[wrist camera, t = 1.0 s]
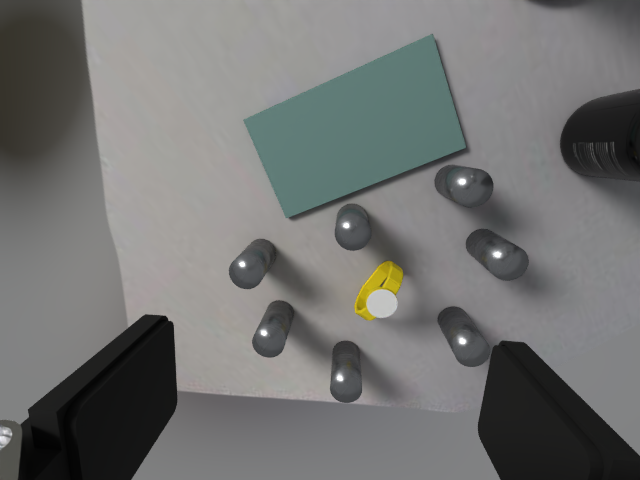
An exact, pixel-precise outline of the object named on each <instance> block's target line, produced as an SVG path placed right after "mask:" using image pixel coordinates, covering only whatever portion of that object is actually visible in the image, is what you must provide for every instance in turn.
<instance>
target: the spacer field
mask: <svg viewBox="0 0 640 480" xmlns="http://www.w3.org/2000/svg"><path fill="white" fill-rule="evenodd" d="M435 187H436V190H437V191H438V192H439V193H440V194H441V195H443V196H445V197H447V198H449V199H451V200H453V201H455V202H457V203H459V204H461V205H463V206H465V207H477V206H480V205H482V204H484V203H485V202H486V201H487V200H488V199H489V198H490V196H491V194H492V192H493V181H492V178H491V177H490V175H489V174H488V173H487V172H485V171H483V170H481V169H475V168H469V167H464V166H458V165H448V166H445V167H443V168H442V169H440V170H439V172H438V173H437V175H436V177H435ZM335 237H336V240H337V242H338V244H339V245H340V246H341V247H343V248H345V249H347V250H352V251H354V250H359V249H362V248H363V247H365V246H366V245H367V244H368V242H369V240H370V238H371V228H370V225H369V221H368V218H367V215H366V212H365V210H364V209H363V208H362V207H361V206H359V205H357V204H347V205H345V206H343V207H342V208H341V209H340V210H339V212H338V214H337V220H336V228H335ZM466 249H467V251H468V253H469V254H470V255H471V256H473V257H474V258H475V259H476V260H477V261H478V262H479V263H481V264H482V265H483V266H484V267H485V268H486V269H487V270H489V271H490V272H491V273H492V274H493V275H494V276H496V277H497V278H499V279H501V280H505V281H509V280H514V279H517V278H519V277H520V276H521V275H523V273H524V272H525V271H526V269H527V267H528V263H529V260H528V256H527V254H526V252H525V251H524V250H523V249H521V248H519V247H518V246H516V245H514V244H513V243H511V242H509V241H507V240H506V239H504V238H502V237H501V236H499V235H497V234H495V233H494V232H492V231H490V230H488V229H479V230H476V231H474V232H472V233H471V234H470V235H469V237H468V238H467V241H466ZM275 257H276V250H275V247H274V245H273V244H272V243H271V242H269V241H268V240H265V239H257V240H254V241H253V242H252V243H251V244H250V245H249V246H248V247H247V248H246V249H245V250H244V251H243V252H242V253H241V254H240V255H239V256H238V257H237V258H236V259H235V260H234V261H233V262H232V263H231V265H230V268H229V275H230V278H231V280H232V282H233V283H234V284H235V285H236V286H238V287H240V288H243V289H251V288H254V287H256V286H257V285H259V283H260V282H261V280H262V279H263V277H264V276H265V274H266V273H267V271H268V269H269V268H270V266H271V265H272V263H273V261H274V260H275ZM293 316H294V311H293V308H292V307H291V305H290V304H288V303H287V302H285V301H281V300H278V301H274V302H272V303H271V304H270V305H269V306H268V308H267V310H266V312H265V314H264V316H263V318H262V320H261V322H260V324H259V326H258V328H257V330H256V332H255V334H254V337H253V340H252V344H253V347H254V349H255V351H256V352H257V353H258V354H260V355H261V356H264V357H275V356H278V355H279V354H280V353H281V352H282V351H283V349H284V346H285V342H286V339H287V336H288V333H289V329H290V326H291V323H292V320H293ZM438 324H439V326H440V328H441V330H442V332H443V334H444V336H445V338H446V339H447V341H448V343H449V345H450V347H451V349H452V351H453V353H454V355H455V357H456V359H457V360H458V362H459V363H461V364H462V365H464V366H468V367H475V366H479V365H481V364H483V363H484V362H485V361H486V360H487V359H488V357H489V355H490V347H489V345H488V343H487V342H486V341H485V339H484V338H483V336H482V335H481V334H480V332H479V331H478V330H477V328H476V327H475V325H474V324H473V323H472V321H471V320H470V318H469V317H468V316H467V314H466V313H465V312H464V310H462V309H461V308H459V307H454V306H453V307H448V308H445V309H444V310H442V311H441V313H440V314H439V316H438ZM330 391H331V394H332V396H333V397H334V398H335V399H336V400H338V401H340V402H344V403H350V402H353V401H355V400H357V399H358V398H359V397H360V395H361V393H362V381H361V366H360V352H359V348H358V347H357V345H356V344H354V343H353V342H350V341H341V342H339V343H337V344H336V345H335V346H334V348H333V353H332V369H331V384H330Z"/></svg>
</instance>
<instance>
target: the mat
mask: <svg viewBox="0 0 640 480" xmlns="http://www.w3.org/2000/svg"><path fill="white" fill-rule="evenodd" d="M244 123H245V125H246V127H247V129H248V132H249V134H250V136H251V139H252V141H253V143H254V146H255V148H256V150H257V152H258V155H259V157H260V159H261V162H262V164H263V166H264V169H265V171H266V173H267V175H268V178H269V180H270V182H271V185H272V187H273V189H274V191H275V194H276V196H277V198H278V201H279V203H280V205H281V208H282V210H283V212H284V214H285V217H286V218H288V217H291V216H293V215H296V214H299V213H301V212H304V211H306V210H309V209H311V208H314V207H316V206H319V205H321V204H324V203H326V202H329V201H332V200H334V199H337V198H339V197H342V196H344V195H347V194H349V193H352V192H354V191H357V190H360V189H362V188H365V187H367V186H370V185H372V184H375V183H377V182H380V181H382V180H385V179H387V178H390V177H393V176H395V175H398V174H400V173H403V172H405V171H408V170H410V169H413V168H415V167H418V166H421V165H423V164H426V163H428V162H431V161H433V160H436V159H438V158H441V157H443V156H446V155H449V154H451V153H454V152H456V151H459V150H461V149H464V148H466V145H465V141H464V138H463V134H462V131H461V128H460V124H459V121H458V118H457V114H456V111H455V107H454V104H453V101H452V97H451V94H450V91H449V87H448V84H447V80H446V77H445V74H444V70H443V67H442V64H441V60H440V57H439V53H438V50H437V47H436V43H435V40H434V37H433V34H431V35H429V36H427V37H424V38H422V39H420V40H418V41H416V42H413V43H411V44H409V45H407V46H405V47H402V48H400V49H398V50H396V51H394V52H392V53H389V54H387V55H385V56H383V57H381V58H378V59H376V60H374V61H372V62H370V63H367V64H365V65H363V66H361V67H359V68H356V69H354V70H352V71H350V72H348V73H345V74H343V75H341V76H339V77H337V78H334V79H332V80H330V81H328V82H326V83H323V84H321V85H319V86H317V87H315V88H312V89H310V90H308V91H306V92H304V93H301V94H299V95H297V96H295V97H293V98H290V99H288V100H286V101H284V102H282V103H280V104H277V105H275V106H273V107H271V108H269V109H266V110H264V111H262V112H260V113H258V114H255V115H253V116H251V117H249V118H247V119H244Z"/></svg>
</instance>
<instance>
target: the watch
mask: <svg viewBox="0 0 640 480" xmlns="http://www.w3.org/2000/svg"><path fill="white" fill-rule="evenodd" d="M386 278H387V279H386ZM385 279H386V281H385V283H384V284H383V286H382V287H379V286H380V285H381V284H382V283H383V282H384V280H385ZM402 279H403V271H402V268H401V267H399V266H398V265H396V264H395V263H393V262H392V261H386V262H384V263H382V264H381V265H379V266H378V267H377V269H376V270H375V272H374V273H373V274H372V275H371V277H370V278H369V279H368V280H367V282H366V283H365V284H364V285H363V286H362V288H361V290H360V292H359V294H358V296H357V299H356V302H355V305H354V308H355V313H356V314H358V315H359V316H361V317H362V318H364V319H365V320H370V321H371V320H373V319H375V318H376V317H378V318H385V317H388V316H391V315H392V314H393V313H394V312H395V310H396V309H397V304H398V303H397V298H396V294H397V292H398V290H399V288H400V286H401V283H402Z"/></svg>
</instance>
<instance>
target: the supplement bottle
mask: <svg viewBox="0 0 640 480" xmlns="http://www.w3.org/2000/svg"><path fill="white" fill-rule="evenodd" d="M560 148H561V153H562V156H563V159H564V160H565V162H566V163H567V165H568V166H569V167H570V168H571V169H573V170H574V171H576V172H578V173H580V174H582V175H586V176H592V177H600V178H610V179H620V180H630V181H640V89H636V90H632V91H627V92H622V93H617V94H613V95H608V96H604V97H600V98H597V99H594V100H592V101H589V102H587V103H586V104H584V105H583V106H581V107H580V108H578V109H577V110H576V111H575V112H574V113H573V114H572V115H571V117H570V118H569V119H568V121H567V122H566V124H565V126H564V128H563V131H562V134H561V140H560Z"/></svg>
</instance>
